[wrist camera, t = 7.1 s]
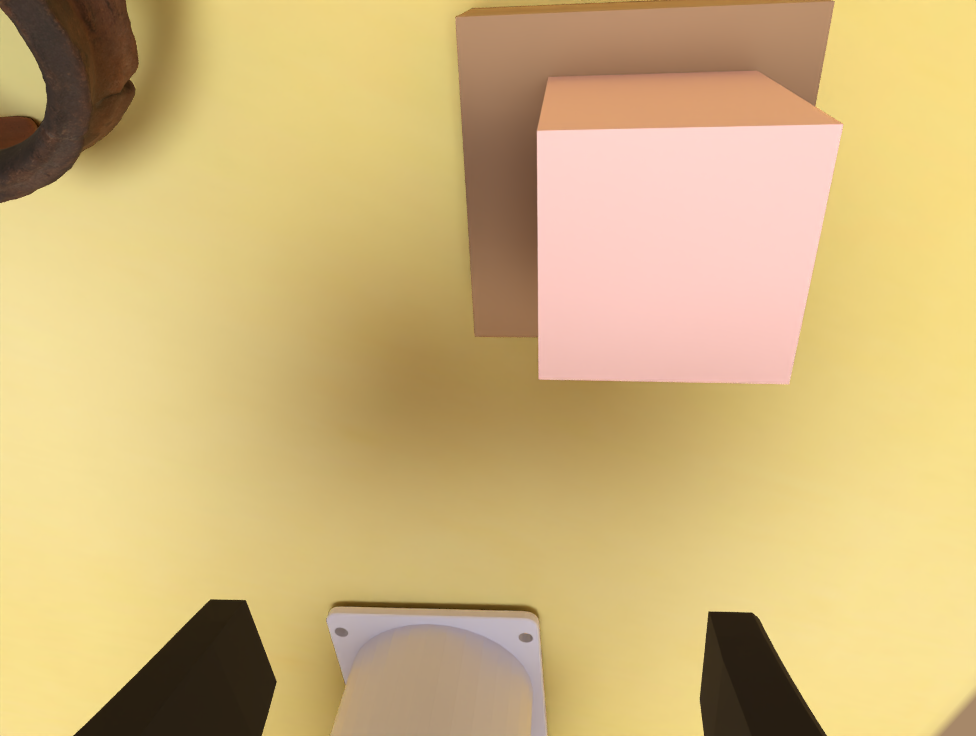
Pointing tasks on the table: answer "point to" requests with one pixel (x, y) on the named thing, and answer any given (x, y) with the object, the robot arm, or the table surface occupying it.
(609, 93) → the pink block
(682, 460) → the table surface
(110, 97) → the brown curved piece
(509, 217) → the brown block
